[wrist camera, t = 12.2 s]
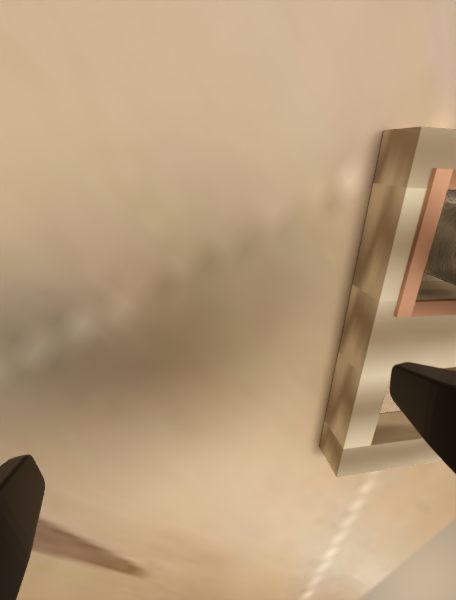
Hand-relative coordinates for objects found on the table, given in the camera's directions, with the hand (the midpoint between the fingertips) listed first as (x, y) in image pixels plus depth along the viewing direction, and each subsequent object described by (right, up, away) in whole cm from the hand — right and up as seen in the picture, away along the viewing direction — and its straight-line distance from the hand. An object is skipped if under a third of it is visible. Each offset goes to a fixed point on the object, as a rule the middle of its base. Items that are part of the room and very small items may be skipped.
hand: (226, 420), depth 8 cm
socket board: (+14, +2, +17) cm, 22 cm away
